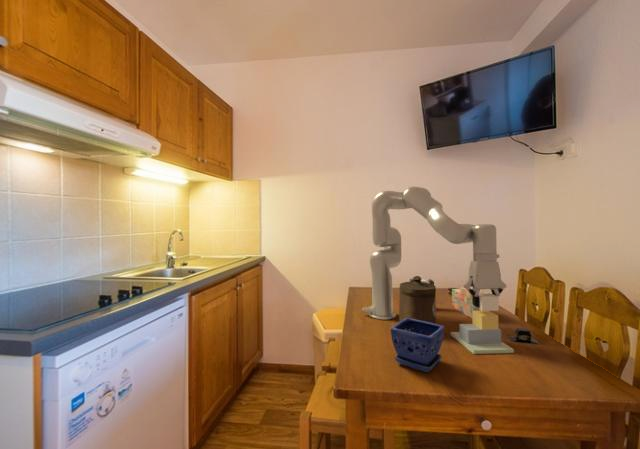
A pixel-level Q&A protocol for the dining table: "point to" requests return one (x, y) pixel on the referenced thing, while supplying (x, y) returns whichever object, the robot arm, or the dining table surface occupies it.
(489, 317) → the mustard brick
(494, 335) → the slate-blue long brick
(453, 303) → the stack of blocks
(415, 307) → the wooden container
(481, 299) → the cream brick
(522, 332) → the black piece
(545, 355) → the dining table surface
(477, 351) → the green plate
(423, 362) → the flower pot
